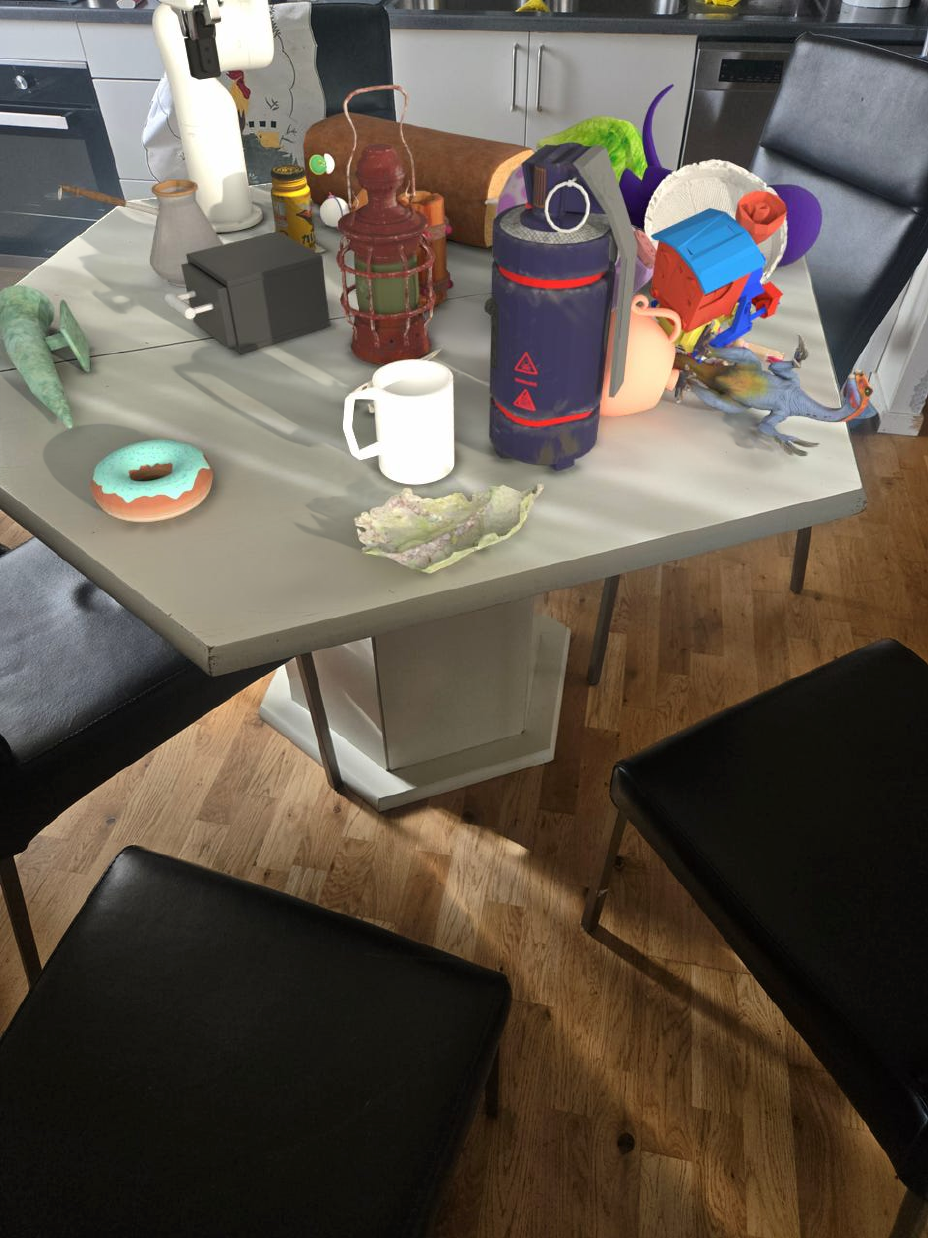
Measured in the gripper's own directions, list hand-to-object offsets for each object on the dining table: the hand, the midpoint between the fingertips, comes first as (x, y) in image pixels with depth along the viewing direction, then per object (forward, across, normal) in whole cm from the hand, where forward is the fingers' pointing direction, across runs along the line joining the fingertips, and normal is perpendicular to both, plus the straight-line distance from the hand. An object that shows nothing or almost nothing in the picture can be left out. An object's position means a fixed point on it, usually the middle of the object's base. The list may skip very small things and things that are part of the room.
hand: (206, 76), depth 106 cm
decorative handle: (+29, +23, +31) cm, 49 cm away
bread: (+29, -17, +42) cm, 54 cm away
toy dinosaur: (+21, +57, +27) cm, 66 cm away
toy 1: (+25, -26, +29) cm, 46 cm away
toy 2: (+25, +21, +52) cm, 61 cm away
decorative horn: (+28, +16, -36) cm, 48 cm away
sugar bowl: (+21, +48, +19) cm, 56 cm away
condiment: (+29, -17, +17) cm, 38 cm away
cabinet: (+29, +5, 0) cm, 29 cm away
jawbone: (+30, +30, +6) cm, 42 cm away
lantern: (+29, +22, +10) cm, 37 cm away
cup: (+29, +46, -6) cm, 54 cm away
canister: (+29, +53, +10) cm, 61 cm away
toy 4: (+28, +59, +42) cm, 77 cm away
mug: (+29, +10, +20) cm, 37 cm away
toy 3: (+18, +12, +63) cm, 66 cm away
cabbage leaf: (+25, +66, -8) cm, 71 cm away
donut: (+29, +34, -29) cm, 53 cm away
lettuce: (+14, 0, +69) cm, 71 cm away
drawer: (+28, +5, -4) cm, 29 cm away
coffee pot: (+29, -18, -5) cm, 35 cm away
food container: (+19, +36, +55) cm, 68 cm away
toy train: (+22, +52, +36) cm, 66 cm away
